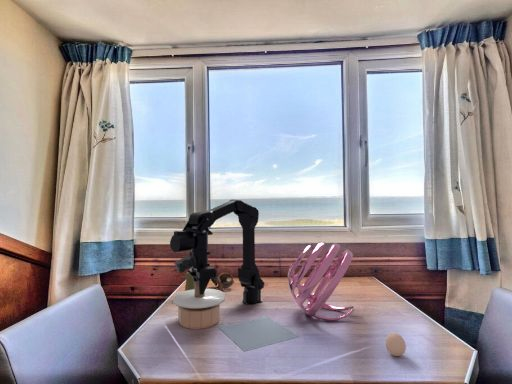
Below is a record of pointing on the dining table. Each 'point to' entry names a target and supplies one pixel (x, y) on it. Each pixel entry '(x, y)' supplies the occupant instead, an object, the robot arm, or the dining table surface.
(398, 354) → the egg
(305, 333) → the dining table surface
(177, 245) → the robot arm
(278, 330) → the rubber mat
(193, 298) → the ceramic lid
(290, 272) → the spiral basket
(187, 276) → the green tapered peg
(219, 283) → the pottery mug
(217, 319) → the terracotta bowl
